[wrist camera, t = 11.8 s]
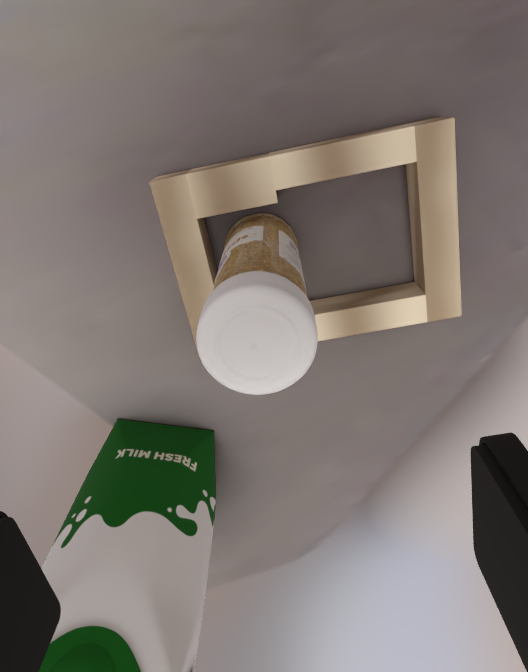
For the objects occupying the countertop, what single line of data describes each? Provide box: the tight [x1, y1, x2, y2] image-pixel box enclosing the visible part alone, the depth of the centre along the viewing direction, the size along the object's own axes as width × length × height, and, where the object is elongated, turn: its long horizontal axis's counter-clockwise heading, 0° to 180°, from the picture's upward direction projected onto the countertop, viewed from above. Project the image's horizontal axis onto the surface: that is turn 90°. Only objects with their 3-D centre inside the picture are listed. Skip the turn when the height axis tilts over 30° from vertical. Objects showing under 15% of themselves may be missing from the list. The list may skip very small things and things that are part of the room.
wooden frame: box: [149, 117, 461, 362], centre depth 29 cm, size 16×11×2 cm
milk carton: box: [39, 419, 216, 672], centre depth 28 cm, size 9×9×20 cm
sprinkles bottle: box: [196, 213, 318, 395], centre depth 24 cm, size 5×5×14 cm
